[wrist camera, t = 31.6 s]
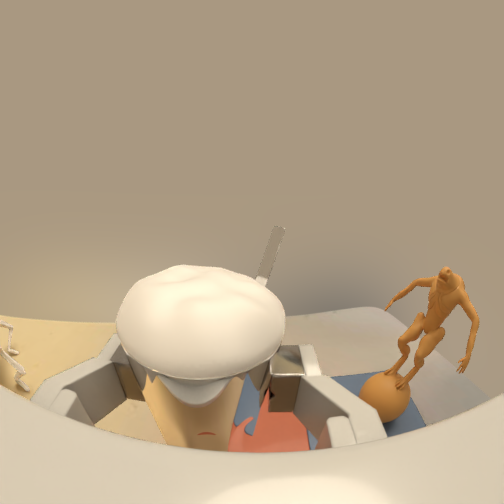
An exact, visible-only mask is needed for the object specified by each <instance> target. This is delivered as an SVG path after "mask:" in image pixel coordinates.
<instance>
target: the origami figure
mask: <svg viewBox="0 0 504 504" xmlns="http://www.w3.org/2000/svg"><path fill="white" fill-rule="evenodd" d="M0 326H1V327H5V328H8V329H9V340H8V351H9V352H11V353H14V354H16V355H17V354H19V351H16V350H13V349H11V348H10V344H11V337H12V331H13V326H12V325H10V324H8V323H6V322H4V321H2V320H0ZM0 354H1V355H2V356H3V357H4V358H5V359H6V360H7V361H8V362H9V363H10V364H11V365H12V366H13V367H14V368H15V369H16V370H17V372H16V374H15V376H14V379H15V381H16V382H17V383H18V384H19V385H20V386H21V387H22V388H24V389H25V390H26V391H30V389H29V387H28V385H26V384H25V383H24V382H23V381H21V380H20V379H19V378H21V377H22V376H23V375H25V374H26V372H25V370H24V367H23V366H21V365H20V364H19V363H18V362H16V361H15V360H14V359H13V358H11V357H10V356H9V355H8V354H7V353H6V352H5V351H3V350H2V348H1V347H0Z"/></svg>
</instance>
